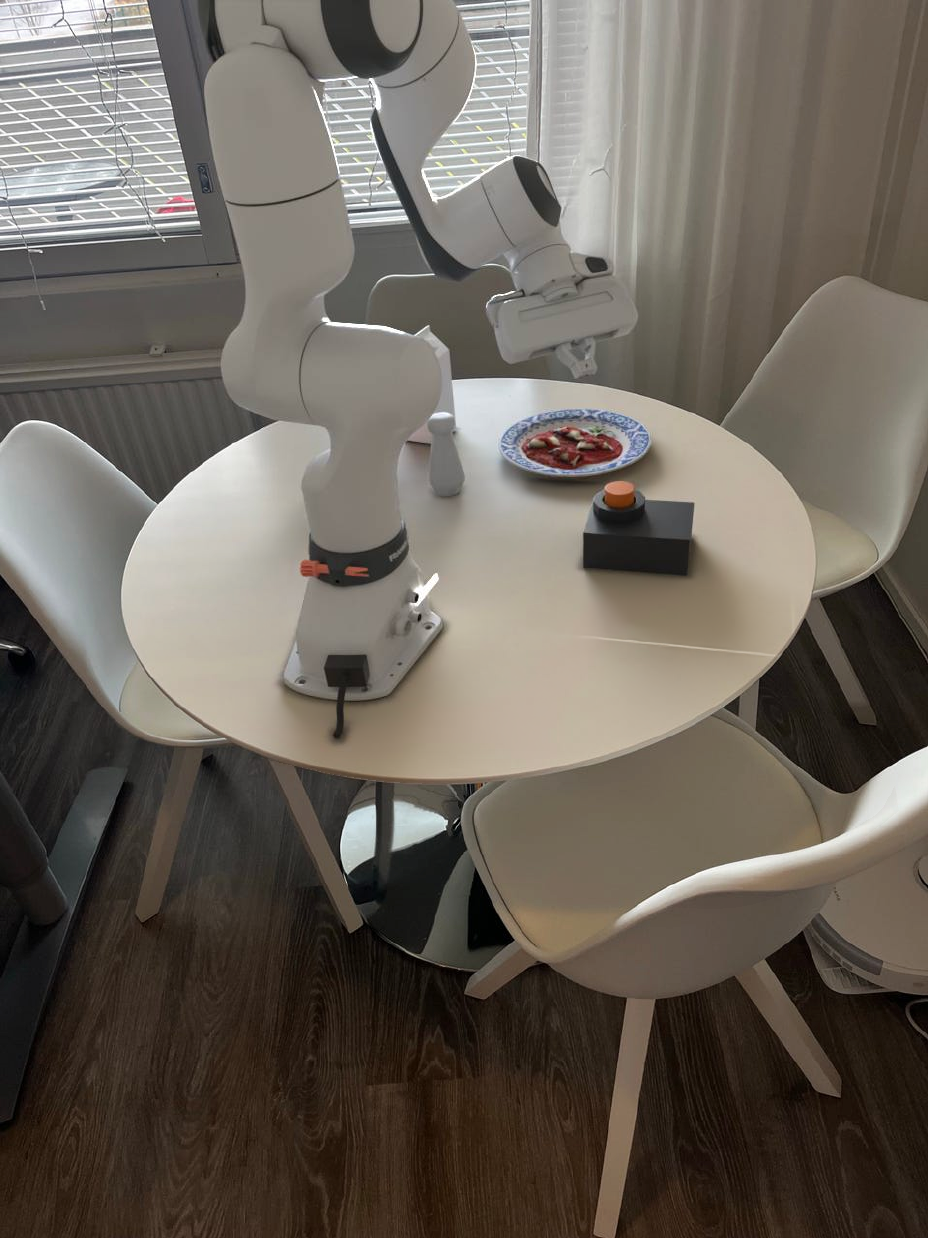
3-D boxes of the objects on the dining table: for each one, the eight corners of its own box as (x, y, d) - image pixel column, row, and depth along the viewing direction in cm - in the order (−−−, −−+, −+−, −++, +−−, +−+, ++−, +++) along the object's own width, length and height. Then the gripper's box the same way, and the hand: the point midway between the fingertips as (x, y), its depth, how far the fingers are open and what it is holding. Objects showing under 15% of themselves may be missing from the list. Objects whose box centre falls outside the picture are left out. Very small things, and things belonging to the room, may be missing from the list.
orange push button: (635, 495, 121) (636, 481, 120) (632, 509, 118) (632, 495, 117) (606, 493, 122) (606, 480, 121) (602, 507, 119) (602, 493, 118)
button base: (691, 537, 125) (695, 490, 120) (687, 576, 117) (691, 528, 112) (593, 530, 128) (593, 485, 124) (583, 568, 121) (583, 521, 116)
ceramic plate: (553, 503, 136) (553, 486, 134) (472, 446, 154) (470, 430, 152) (683, 456, 145) (684, 440, 143) (591, 408, 163) (591, 392, 161)
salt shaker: (467, 481, 144) (461, 407, 136) (464, 498, 139) (457, 422, 131) (432, 482, 144) (424, 408, 137) (428, 499, 140) (419, 423, 132)
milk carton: (404, 441, 158) (391, 337, 147) (422, 425, 163) (411, 323, 152) (439, 446, 155) (428, 340, 144) (456, 429, 160) (447, 326, 149)
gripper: (487, 285, 113) (525, 381, 112) (621, 255, 119) (659, 346, 118) (475, 311, 119) (511, 403, 118) (603, 282, 125) (639, 368, 124)
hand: (586, 374), depth 118 cm, fingers closed
